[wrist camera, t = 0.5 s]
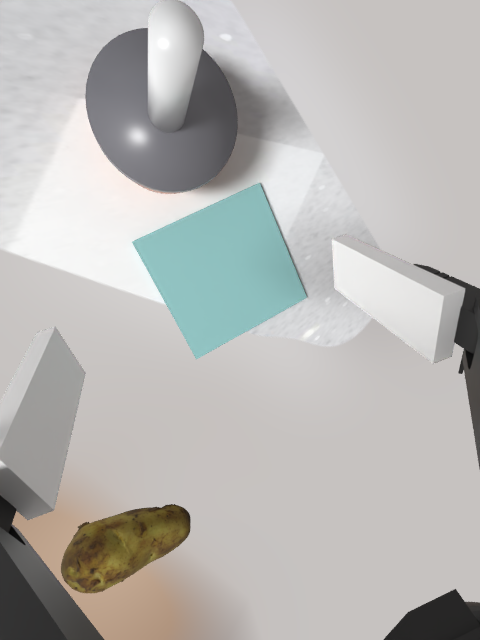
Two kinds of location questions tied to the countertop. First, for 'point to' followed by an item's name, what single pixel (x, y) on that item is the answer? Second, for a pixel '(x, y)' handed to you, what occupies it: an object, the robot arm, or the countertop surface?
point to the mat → (222, 269)
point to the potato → (122, 546)
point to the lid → (162, 103)
